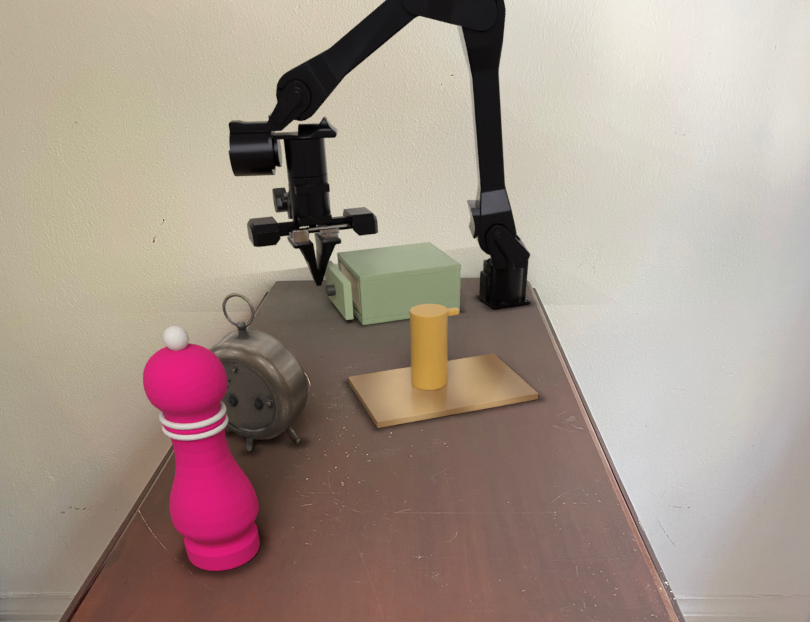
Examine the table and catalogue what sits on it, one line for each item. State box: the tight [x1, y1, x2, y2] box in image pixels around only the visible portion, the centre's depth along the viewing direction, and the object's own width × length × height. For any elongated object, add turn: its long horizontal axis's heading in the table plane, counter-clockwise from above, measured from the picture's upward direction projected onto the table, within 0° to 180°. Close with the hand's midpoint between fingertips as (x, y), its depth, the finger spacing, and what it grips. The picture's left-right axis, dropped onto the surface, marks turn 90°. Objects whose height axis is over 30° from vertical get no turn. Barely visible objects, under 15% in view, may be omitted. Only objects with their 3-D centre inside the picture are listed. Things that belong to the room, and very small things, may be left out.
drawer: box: [324, 259, 361, 321], centre depth 108 cm, size 16×12×5 cm
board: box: [347, 353, 539, 429], centre depth 85 cm, size 20×13×1 cm, turn 108°
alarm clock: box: [209, 292, 309, 452], centre depth 71 cm, size 11×5×16 cm, turn 71°
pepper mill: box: [142, 325, 261, 572], centre depth 55 cm, size 7×7×20 cm
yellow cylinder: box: [409, 304, 460, 390], centre depth 83 cm, size 6×4×9 cm
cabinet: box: [336, 241, 462, 326], centre depth 109 cm, size 16×14×7 cm
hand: (318, 285), depth 109 cm, fingers closed
